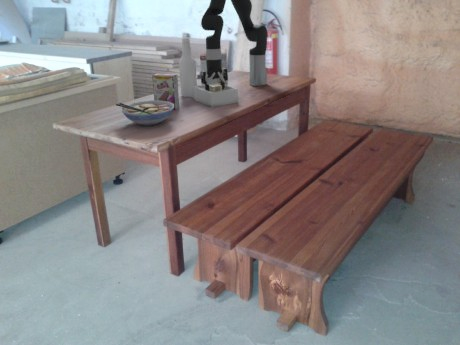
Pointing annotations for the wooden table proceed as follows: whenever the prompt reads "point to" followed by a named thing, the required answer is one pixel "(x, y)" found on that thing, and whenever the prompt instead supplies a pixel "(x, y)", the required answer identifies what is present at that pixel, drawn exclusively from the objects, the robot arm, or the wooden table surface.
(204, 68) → the cracker box
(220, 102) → the bin
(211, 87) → the birch block
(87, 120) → the wooden table surface
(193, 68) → the alcohol
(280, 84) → the wooden table surface
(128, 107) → the ramen bowl
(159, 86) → the candy bar box
